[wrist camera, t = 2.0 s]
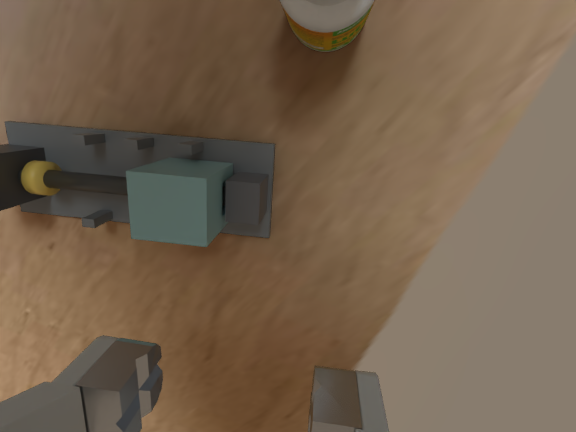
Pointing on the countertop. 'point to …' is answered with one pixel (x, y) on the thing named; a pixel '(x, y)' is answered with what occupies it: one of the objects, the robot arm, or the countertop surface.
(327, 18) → the supplement bottle
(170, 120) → the countertop surface
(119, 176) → the grey sliding rail fixture
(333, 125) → the countertop surface
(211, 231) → the sleeve
